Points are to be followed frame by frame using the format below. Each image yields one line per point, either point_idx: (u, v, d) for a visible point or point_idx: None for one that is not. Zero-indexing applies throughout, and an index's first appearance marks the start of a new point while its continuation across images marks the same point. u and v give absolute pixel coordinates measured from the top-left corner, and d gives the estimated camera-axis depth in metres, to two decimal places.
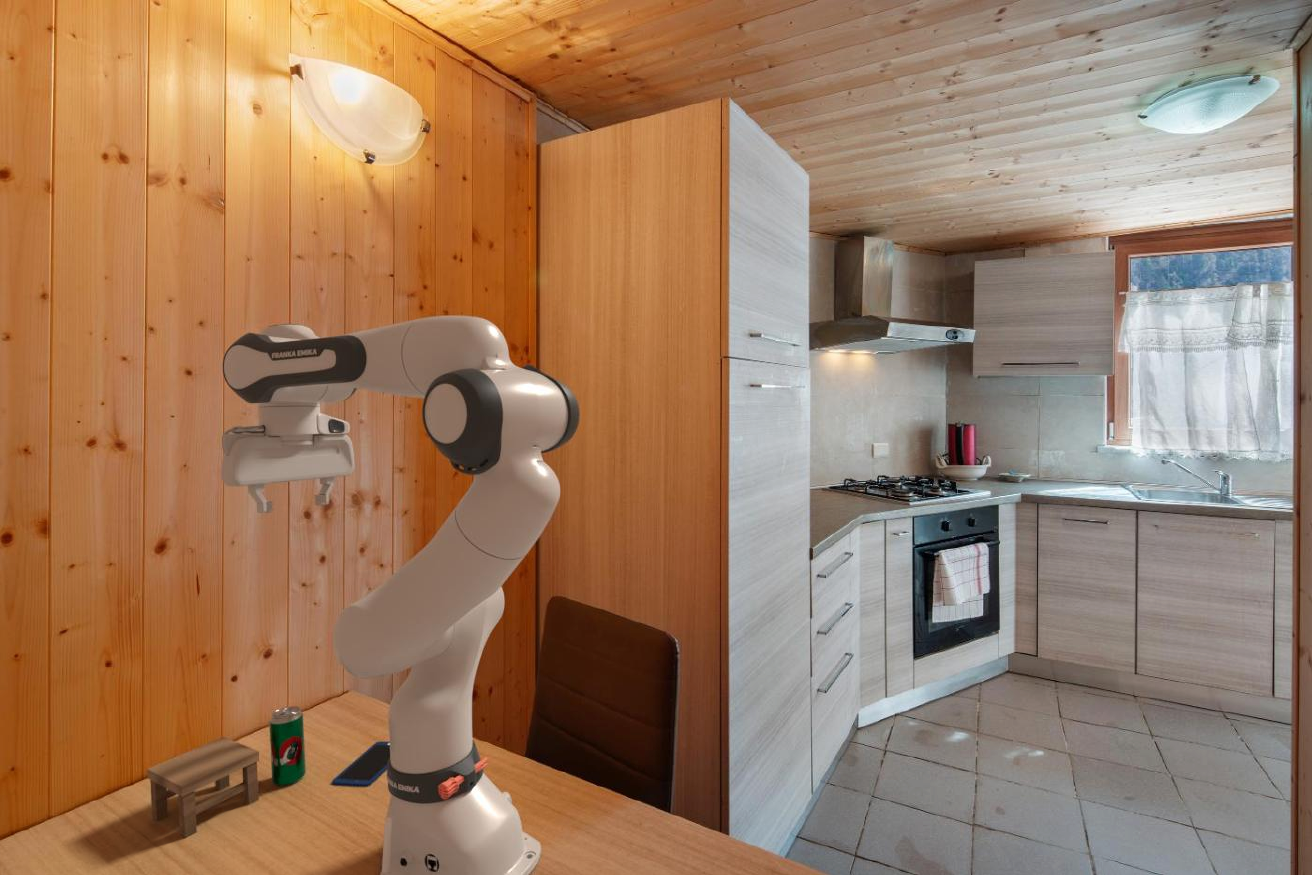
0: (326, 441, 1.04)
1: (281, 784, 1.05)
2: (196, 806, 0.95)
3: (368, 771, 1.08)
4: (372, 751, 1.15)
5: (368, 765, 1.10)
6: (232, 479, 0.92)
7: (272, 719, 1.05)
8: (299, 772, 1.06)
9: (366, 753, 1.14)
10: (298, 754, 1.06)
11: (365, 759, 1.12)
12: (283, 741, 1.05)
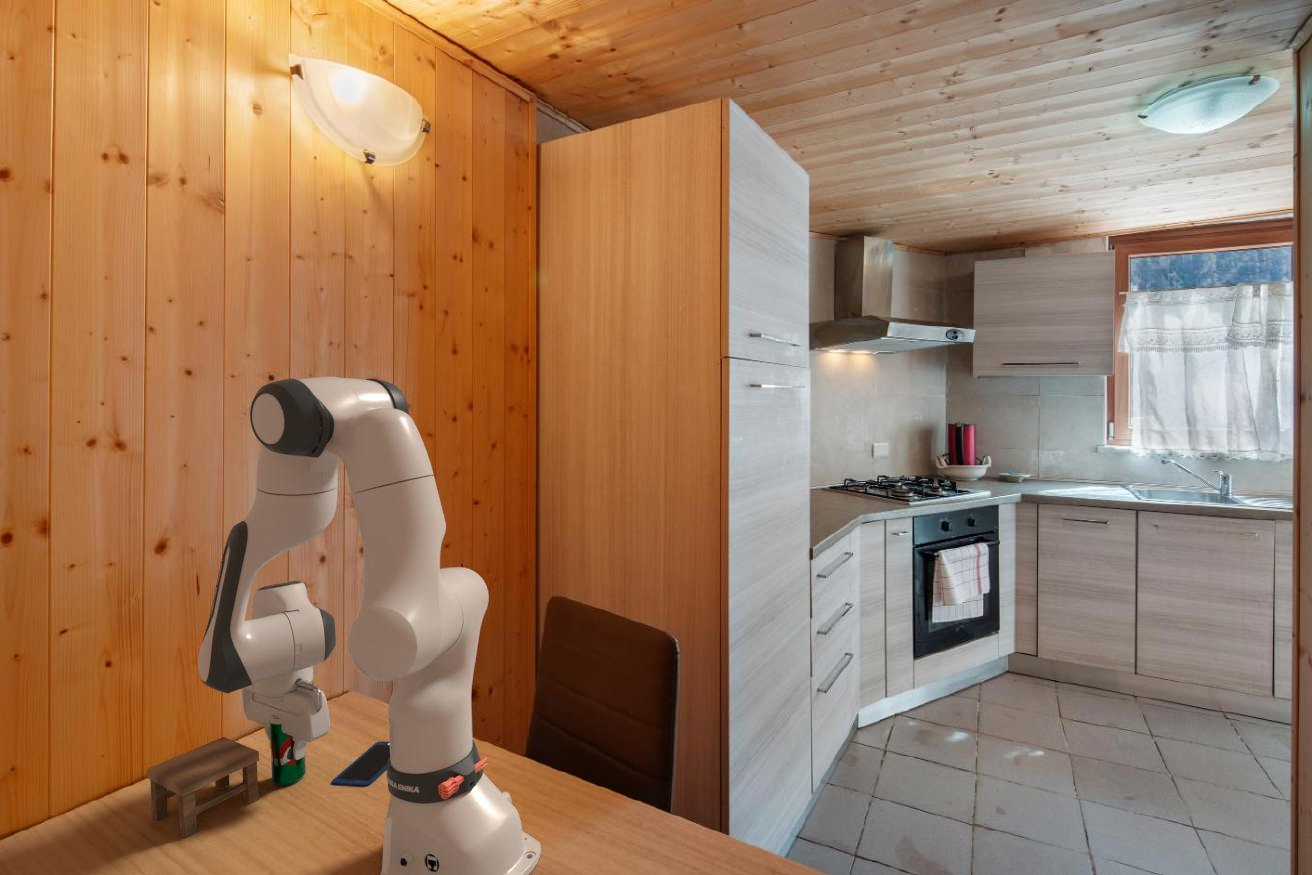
0: None
1: (281, 784, 1.05)
2: (196, 806, 0.95)
3: (368, 771, 1.08)
4: (372, 751, 1.15)
5: (368, 765, 1.10)
6: (329, 728, 1.04)
7: (272, 719, 1.05)
8: (299, 772, 1.06)
9: (366, 753, 1.14)
10: None
11: (365, 759, 1.12)
12: (283, 741, 1.05)
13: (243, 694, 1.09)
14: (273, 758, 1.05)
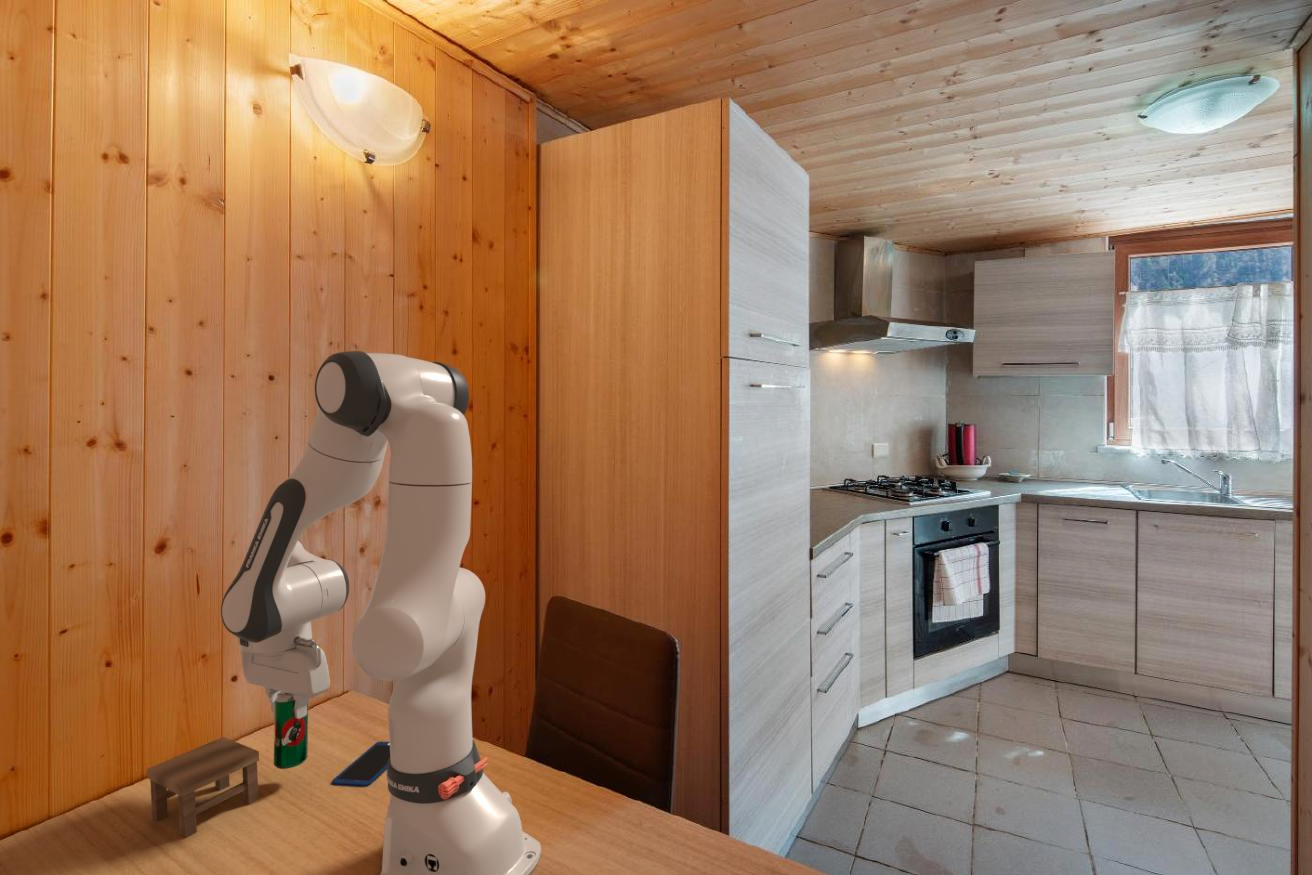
0: None
1: (281, 766, 1.04)
2: (196, 806, 0.95)
3: (368, 771, 1.08)
4: (372, 751, 1.15)
5: (368, 765, 1.10)
6: (329, 685, 1.03)
7: (277, 698, 1.06)
8: (300, 755, 1.05)
9: (366, 753, 1.14)
10: (300, 736, 1.05)
11: (365, 759, 1.12)
12: (286, 720, 1.04)
13: (242, 657, 1.09)
14: (275, 738, 1.04)
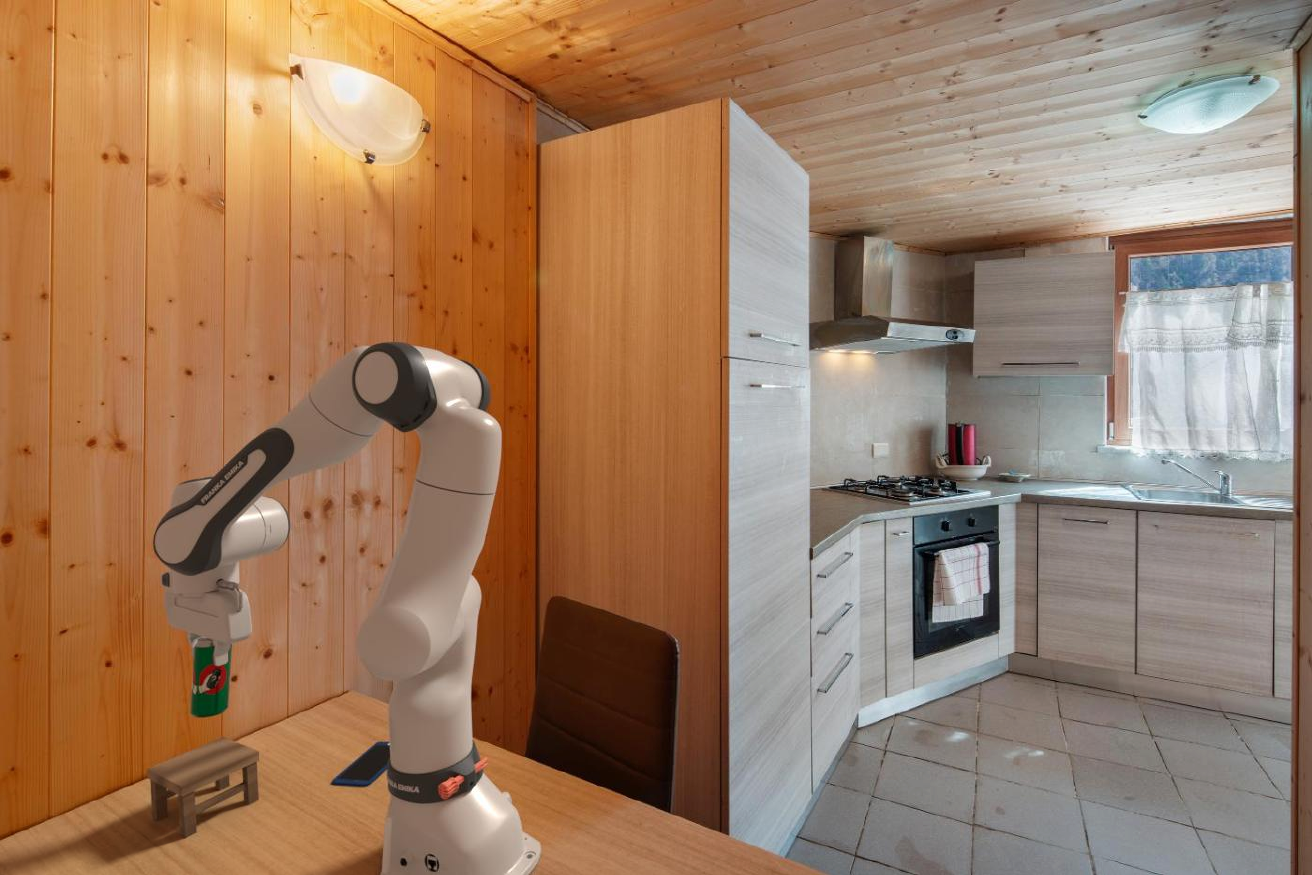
0: None
1: (197, 715, 0.97)
2: (196, 806, 0.95)
3: (368, 771, 1.08)
4: (372, 751, 1.15)
5: (368, 765, 1.10)
6: (251, 632, 0.97)
7: (197, 643, 0.99)
8: (218, 704, 0.99)
9: (366, 753, 1.14)
10: (220, 684, 0.99)
11: (365, 759, 1.12)
12: (204, 667, 0.98)
13: (165, 599, 1.03)
14: (193, 685, 0.98)
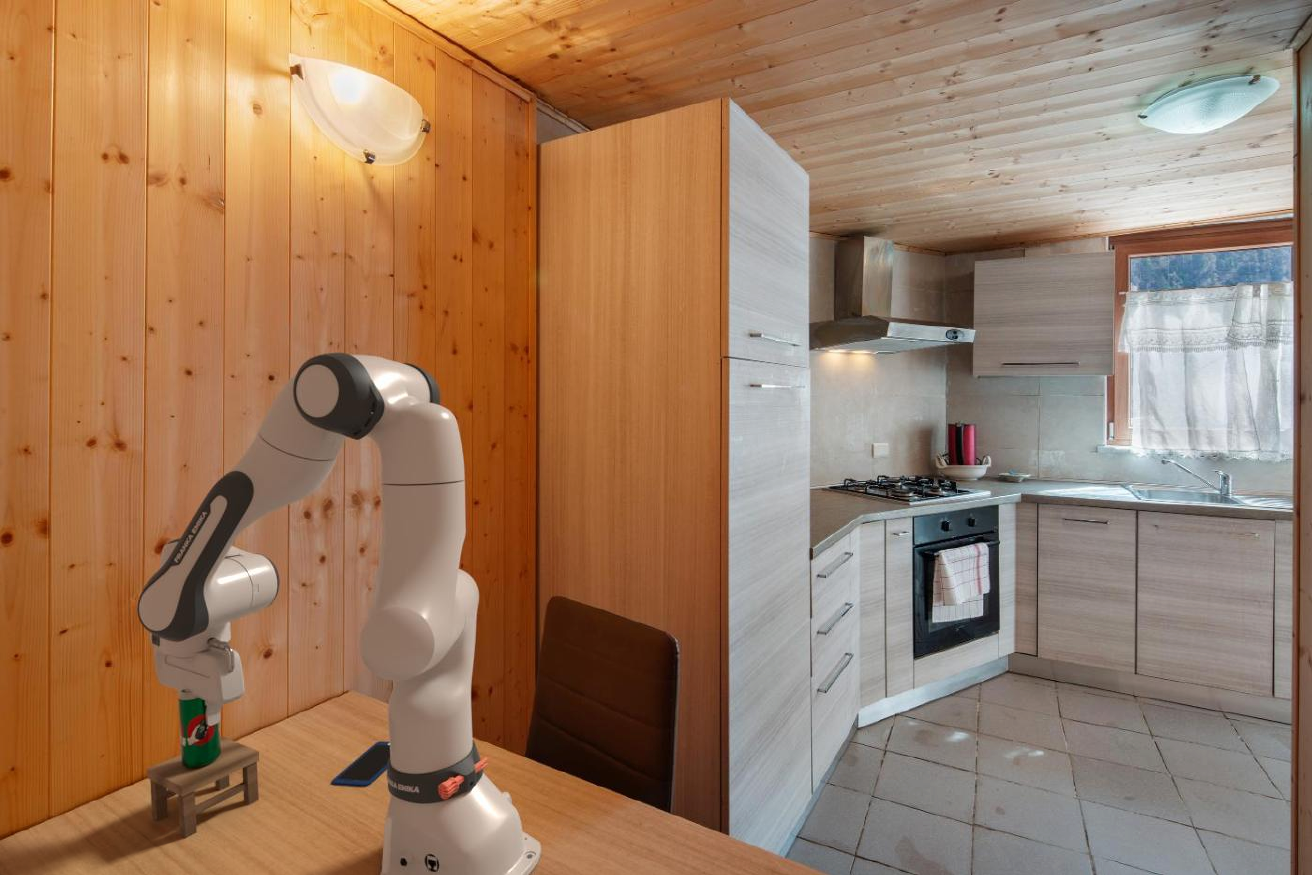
0: None
1: (189, 766, 0.96)
2: (196, 806, 0.95)
3: (367, 771, 1.08)
4: (372, 751, 1.15)
5: (368, 765, 1.10)
6: (243, 691, 0.96)
7: (181, 695, 0.97)
8: (210, 754, 0.98)
9: (366, 753, 1.14)
10: (209, 733, 0.98)
11: (365, 759, 1.12)
12: (191, 719, 0.96)
13: (155, 657, 1.01)
14: (181, 737, 0.97)
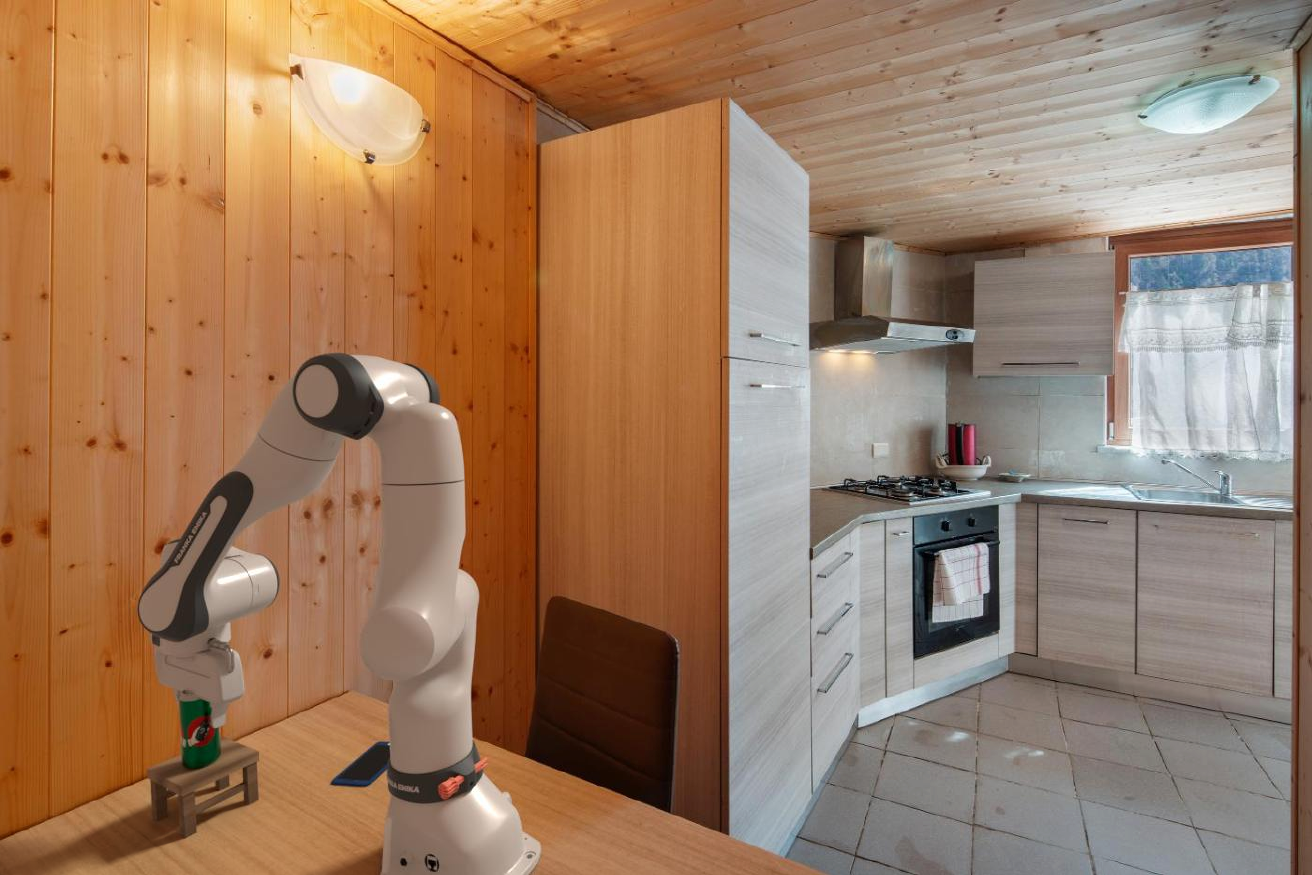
0: None
1: (189, 767, 0.96)
2: (196, 806, 0.95)
3: (367, 771, 1.08)
4: (372, 751, 1.15)
5: (368, 765, 1.10)
6: (243, 691, 0.96)
7: (181, 696, 0.97)
8: (210, 755, 0.98)
9: (366, 753, 1.14)
10: (210, 735, 0.98)
11: (365, 759, 1.12)
12: (191, 720, 0.96)
13: (155, 657, 1.01)
14: (181, 738, 0.97)
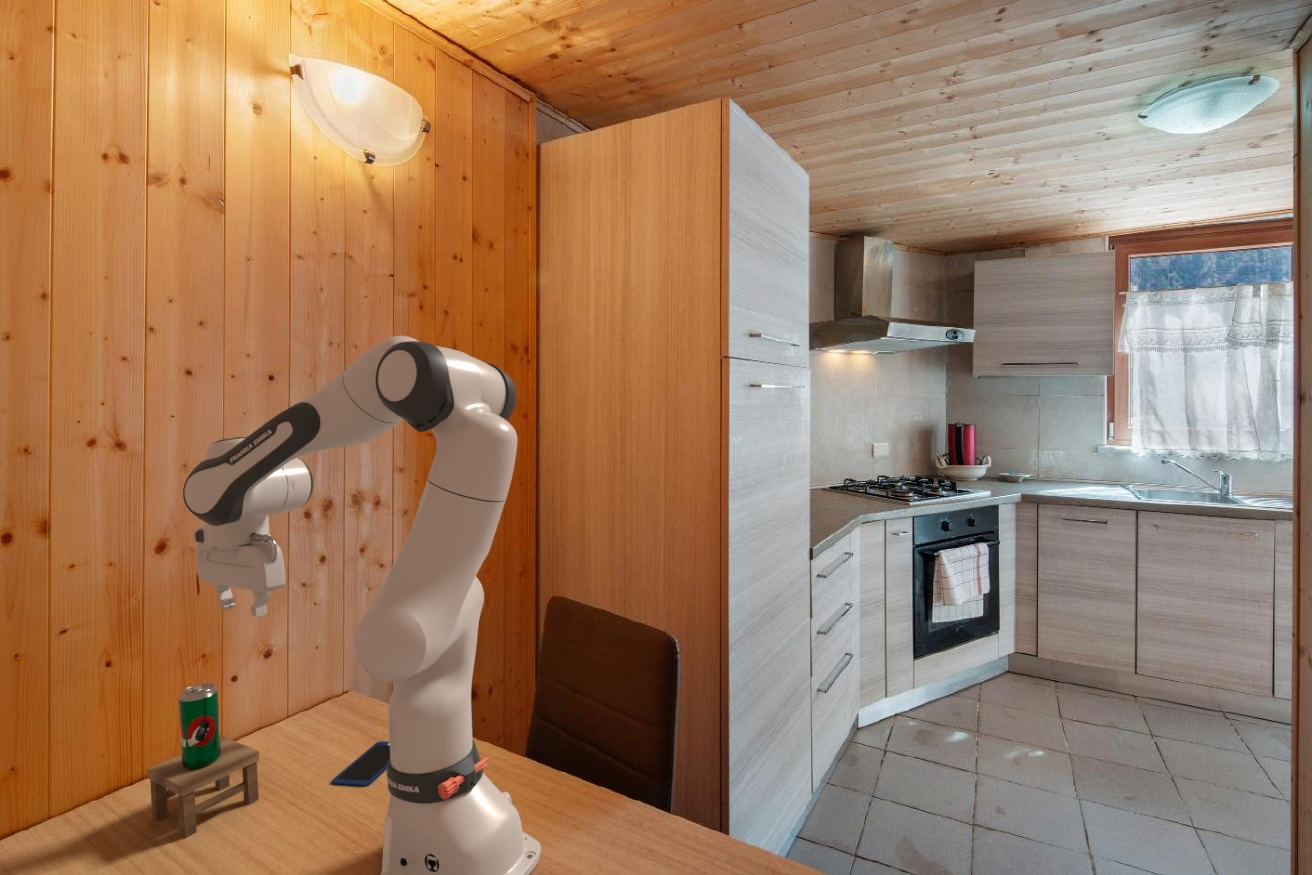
0: None
1: (189, 767, 0.96)
2: (196, 806, 0.95)
3: (367, 771, 1.08)
4: (372, 751, 1.15)
5: (368, 765, 1.10)
6: None
7: (181, 696, 0.97)
8: (210, 755, 0.98)
9: (366, 753, 1.14)
10: (210, 735, 0.98)
11: (365, 759, 1.12)
12: (191, 720, 0.96)
13: (198, 555, 1.08)
14: (181, 738, 0.97)
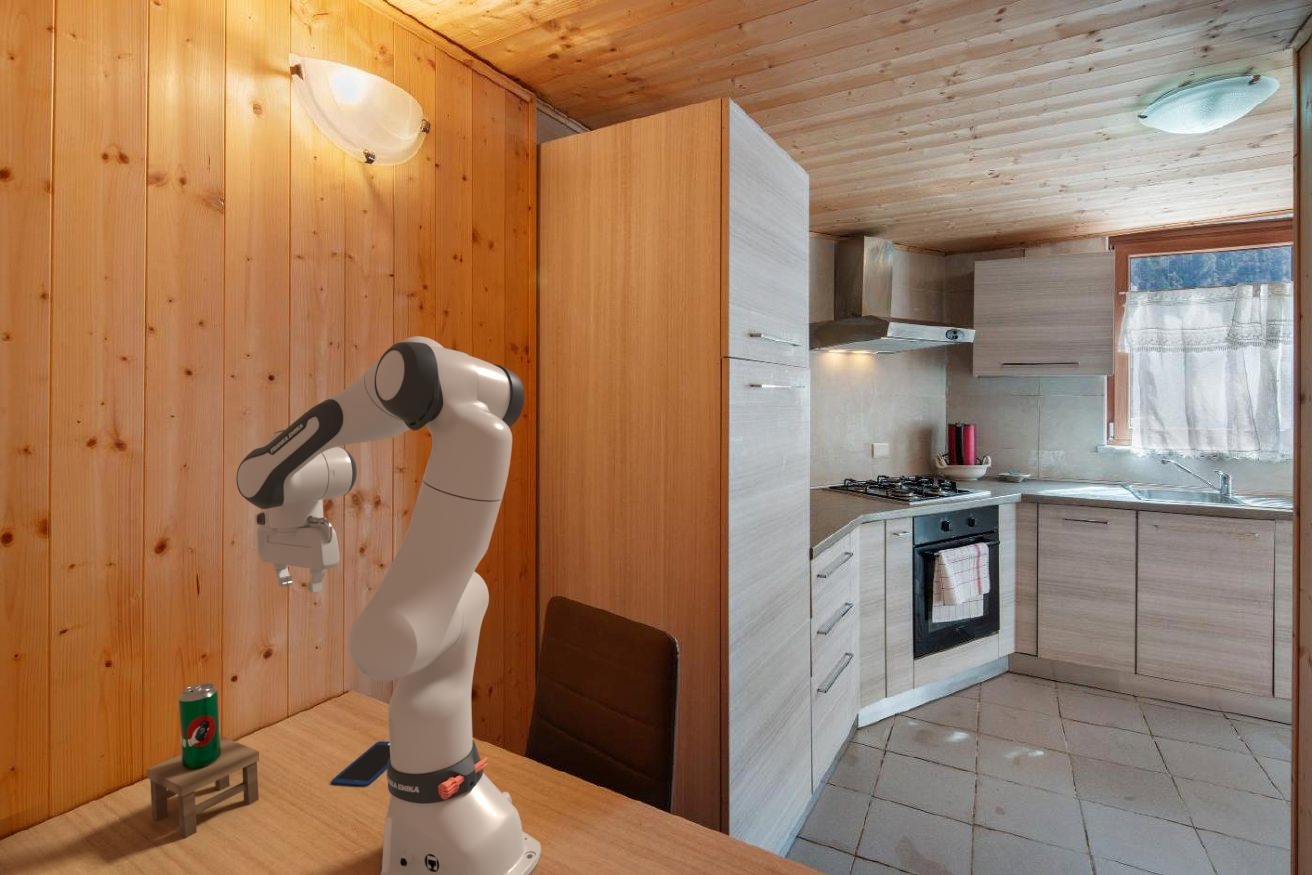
0: None
1: (189, 767, 0.96)
2: (196, 806, 0.95)
3: (367, 771, 1.08)
4: (372, 751, 1.15)
5: (368, 765, 1.10)
6: None
7: (181, 696, 0.97)
8: (210, 755, 0.98)
9: (366, 753, 1.15)
10: (210, 735, 0.98)
11: (365, 759, 1.12)
12: (191, 720, 0.96)
13: (258, 537, 1.18)
14: (181, 738, 0.97)
